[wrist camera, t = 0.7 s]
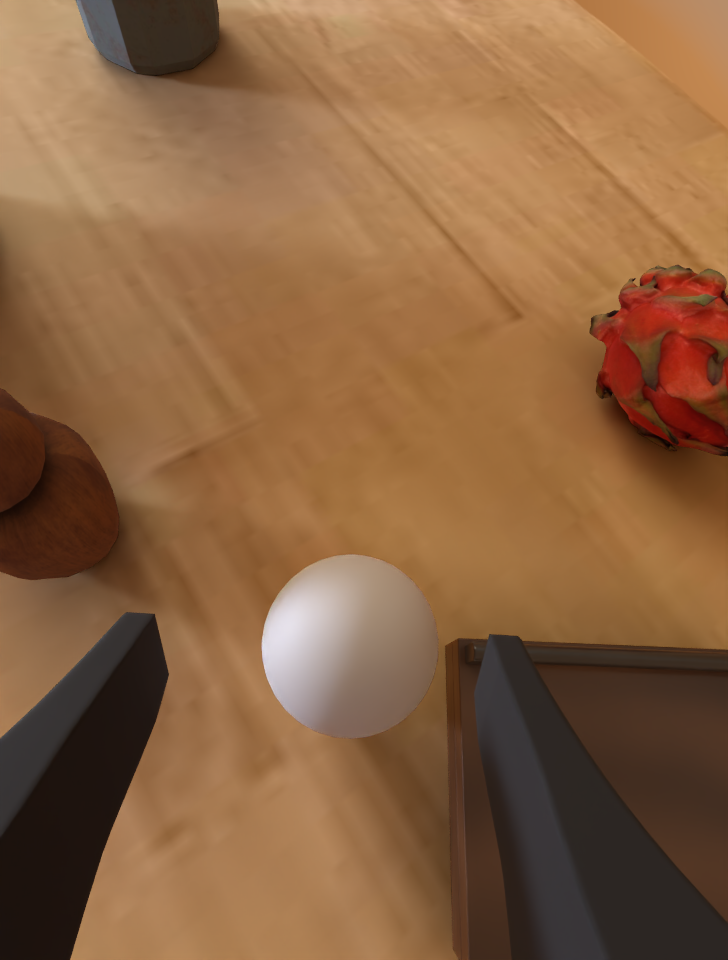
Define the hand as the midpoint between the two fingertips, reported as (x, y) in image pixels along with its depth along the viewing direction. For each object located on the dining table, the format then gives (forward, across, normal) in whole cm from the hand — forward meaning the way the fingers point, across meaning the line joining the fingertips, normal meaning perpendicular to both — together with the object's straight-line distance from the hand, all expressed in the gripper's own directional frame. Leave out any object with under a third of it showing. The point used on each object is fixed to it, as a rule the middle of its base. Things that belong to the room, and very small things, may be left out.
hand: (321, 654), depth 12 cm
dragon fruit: (+24, -18, +4) cm, 30 cm away
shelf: (+6, -13, +15) cm, 21 cm away
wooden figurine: (+14, +14, +9) cm, 22 cm away
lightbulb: (+9, 0, +12) cm, 16 cm away
